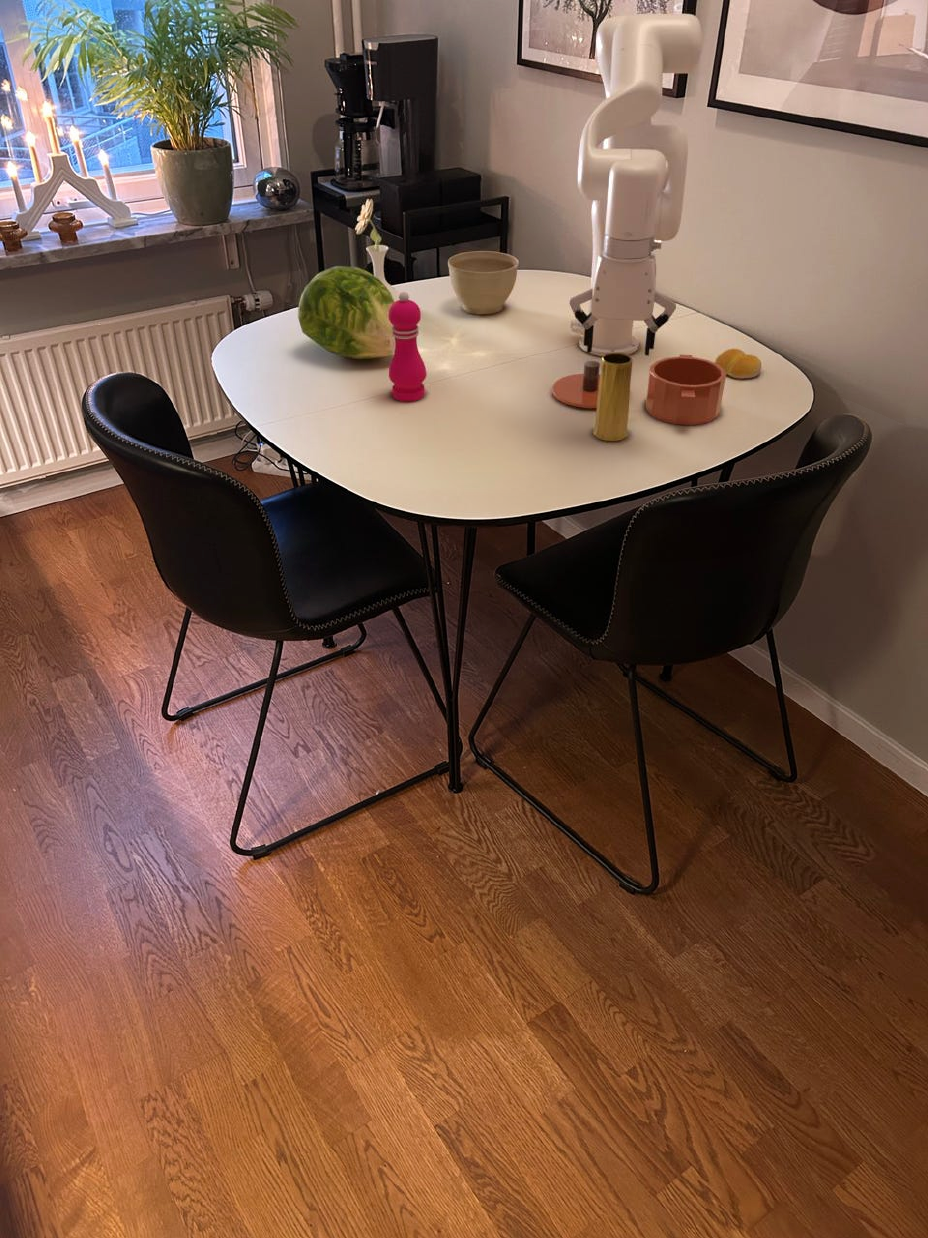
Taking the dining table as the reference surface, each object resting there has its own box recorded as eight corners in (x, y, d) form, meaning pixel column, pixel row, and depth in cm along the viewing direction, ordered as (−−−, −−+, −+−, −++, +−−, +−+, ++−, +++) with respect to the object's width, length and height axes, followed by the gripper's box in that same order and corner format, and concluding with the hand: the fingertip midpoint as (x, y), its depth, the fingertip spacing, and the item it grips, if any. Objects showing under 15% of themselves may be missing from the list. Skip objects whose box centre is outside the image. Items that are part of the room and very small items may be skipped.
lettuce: (366, 346, 180) (415, 270, 183) (271, 304, 187) (320, 232, 190) (389, 394, 197) (434, 324, 200) (302, 354, 204) (347, 287, 207)
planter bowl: (518, 320, 212) (519, 271, 206) (448, 320, 213) (447, 272, 206) (516, 296, 225) (517, 249, 218) (449, 296, 225) (448, 250, 219)
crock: (645, 429, 169) (649, 390, 164) (646, 385, 184) (650, 349, 179) (721, 433, 167) (728, 394, 162) (716, 389, 182) (722, 352, 177)
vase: (605, 444, 164) (612, 367, 155) (586, 430, 169) (592, 355, 160) (634, 437, 166) (642, 360, 158) (614, 423, 171) (621, 348, 162)
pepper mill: (432, 389, 183) (429, 287, 171) (419, 404, 178) (414, 300, 166) (398, 385, 185) (392, 283, 173) (384, 399, 180) (377, 296, 168)
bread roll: (744, 383, 184) (748, 364, 181) (708, 369, 189) (711, 351, 187) (769, 372, 188) (773, 352, 186) (732, 359, 193) (736, 340, 191)
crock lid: (548, 408, 176) (550, 377, 172) (555, 377, 187) (556, 347, 184) (626, 413, 174) (629, 381, 170) (628, 381, 185) (631, 351, 182)
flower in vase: (363, 299, 225) (354, 188, 209) (409, 300, 223) (404, 189, 208) (350, 318, 215) (340, 203, 199) (399, 320, 213) (392, 204, 198)
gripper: (682, 241, 149) (669, 345, 159) (574, 237, 151) (568, 340, 162) (683, 255, 143) (670, 362, 153) (571, 251, 146) (565, 356, 156)
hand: (618, 351), depth 158 cm, fingers open, 9 cm apart
